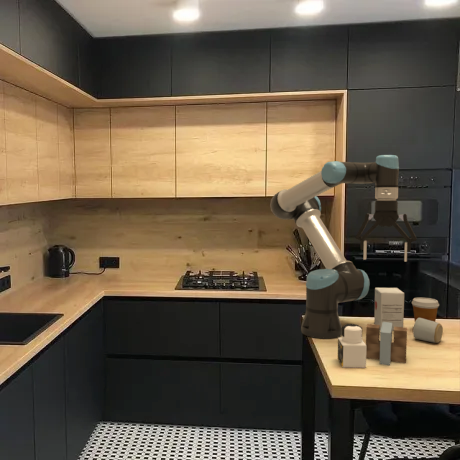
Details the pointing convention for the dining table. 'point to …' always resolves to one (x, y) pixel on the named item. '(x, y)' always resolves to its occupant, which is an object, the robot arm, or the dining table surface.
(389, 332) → the slate plate
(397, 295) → the supplement box
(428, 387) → the dining table surface
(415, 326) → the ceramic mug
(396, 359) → the walnut stand
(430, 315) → the disposable coffee cup
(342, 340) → the medicine bottle
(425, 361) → the dining table surface
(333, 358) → the dining table surface
